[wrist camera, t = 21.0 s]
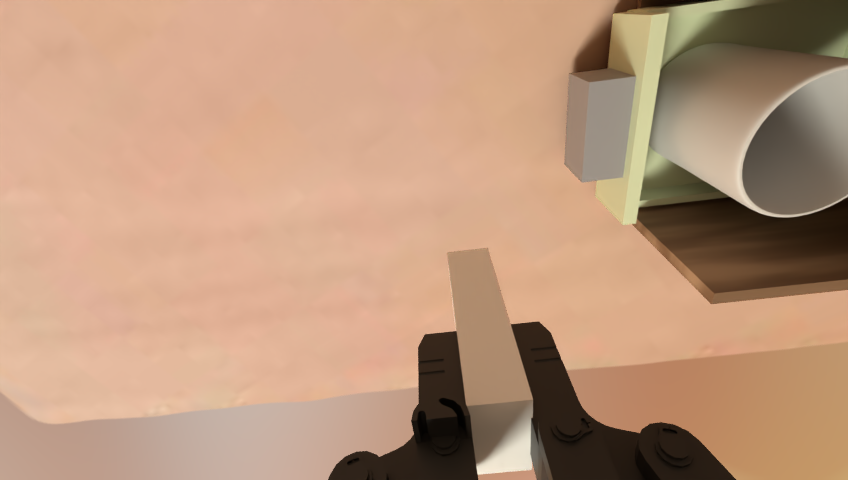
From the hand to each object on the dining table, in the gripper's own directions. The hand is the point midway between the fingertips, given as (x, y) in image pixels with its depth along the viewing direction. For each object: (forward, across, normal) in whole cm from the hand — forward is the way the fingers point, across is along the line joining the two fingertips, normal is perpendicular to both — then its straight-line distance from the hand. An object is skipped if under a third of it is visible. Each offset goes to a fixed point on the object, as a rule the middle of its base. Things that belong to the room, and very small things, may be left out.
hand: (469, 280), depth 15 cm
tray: (+20, +20, 0) cm, 28 cm away
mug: (+19, +21, 0) cm, 29 cm away
